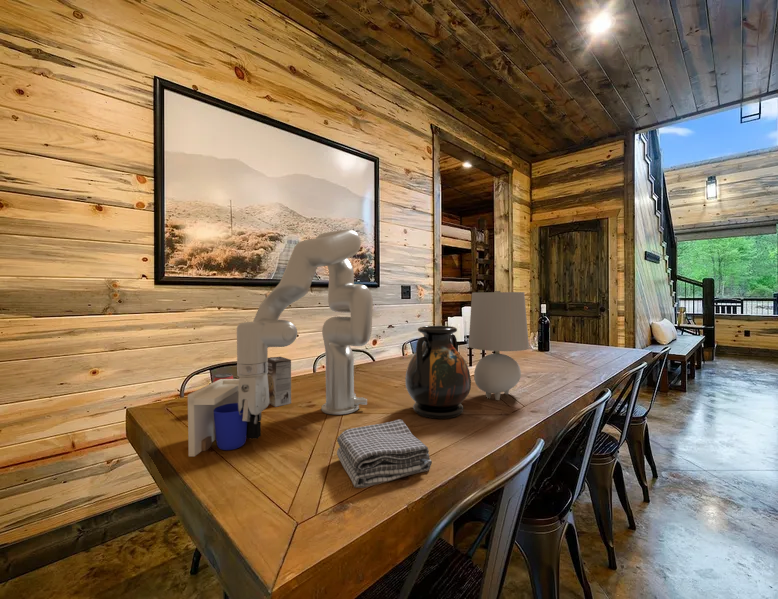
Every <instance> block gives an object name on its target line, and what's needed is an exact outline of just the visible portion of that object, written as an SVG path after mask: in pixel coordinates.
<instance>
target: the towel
mask: <svg viewBox="0 0 778 599" xmlns="http://www.w3.org/2000/svg"><path fill="white" fill-rule="evenodd" d="M336 442H337V444H338V446H339V447H337V450H336V456H337V459H339V460H338V461H340V464H341V465H342V467H343V469H344V471H345V472H346V474H347V475H348V477H349V478H350V481H351V482H352V485H353V487H354V488H355V489H357V488H368V487H372V486H377V485H379V484H383V483H387V482H391V481H395V480H398V479H402V478H405V477H407V476H410V475H411V476H412V475H414V474H419V473H420V474H421V473H423V472H424V473H425V472H428V471H430V470H431V466H432V463H433V461H432V460H431V458H430V453H429V451H430V450H429V447H428V446H427V445H426V444H424V442H422V441H421V440H420V439H419V438H417V436H415V435H414V434H413V433H412V432H411V430H410V429H409V427H408V426H407V425H406V422H404V420H403V419H395V420H393V421H387V422H384V423H377V424H370V425H365V426H364V425H363V426H358V427H353V428H348V429H346V430H343V431H342V432H341V433H340V434H339V435H338V436H337V438H336Z"/></svg>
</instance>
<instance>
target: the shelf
mask: <svg viewBox="0 0 778 599" xmlns="http://www.w3.org/2000/svg"><path fill="white" fill-rule="evenodd" d="M238 386H239V378H234V379H220V380H218V381H216V382H211V383H209V384H207V385H205V386H203V387H201V388H198V389H196V390H194V391H192V392H190V393H188V394H187V426H188V427H187V429H188V430H187V432H188V434H187V435H188V436H187V438H188V439H187V441H188V442H187V443H188V445H187V446H188V457H196V456H197V455H199V454H200V453H201V452H205V451H207V450H209V449H210V448H211V447H212V446H213V442H214V441H216V431H215V421H214V409H215V408H216V407H219V406H221V405H225V404H231V403H238Z"/></svg>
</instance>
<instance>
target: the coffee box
mask: <svg viewBox="0 0 778 599" xmlns="http://www.w3.org/2000/svg"><path fill="white" fill-rule="evenodd" d="M267 376H268V385H269V405H271V406H273V407H275V408H277V407H281V406H285V405H290V404H292V359H290V358H287V357H282V356H272V357H271V356H270V357H268V373H267Z"/></svg>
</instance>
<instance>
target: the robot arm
mask: <svg viewBox="0 0 778 599" xmlns="http://www.w3.org/2000/svg"><path fill="white" fill-rule="evenodd" d="M361 245H362V242H361V237H360V236H359V234H358V232H356V231H355V230H354V229H349V228H346V229H341V230H335V231H328V232H324V233H320V234H319V235H317V236H316V238H310V239H305V240H301V241H299V242H298V243H296V244H295V245H294V248H293V250H292V252H291V255H290V258H289V260H288V262H287V265H286V268H284V269H285V270H284V272H283V274H282V277H281V279H280V281H279V282H278V284H277V285H276V286H275V287H274V288H273V289H272V290H271V291H270V293H269V294H268V295H267V296H266V297H265V298H264V300H262V302H261V304H260V305H259V307H258V309H257V310H256V313H255V316H254V318H253V321H246V322H245V321H244V322H241V323H239V324H238V325H237V327H236V363H237V364H236V368H237V369H236V370H237V372H236V373H237V377H239V378H238V379H239V386H238V411H239V415H241V414H242V413H241V414H240V411H241V410H242V409H243V420H242V421H243V422H247V435H246V440H259V438H260V437H261V436H262V428H261V427H262V424H261V421H262V412H263V411H264V410H266V408H268V406H269V405H270V404H269V385H268V376H267V373H268V358H269V356H268V349H269V348H283V347H288V346H291V345H292V344H293V343H294V342H296V339H297V337H298V329H297V327H296V325H295V324H294V323H293V322H291V321H289V320H286V319H279V318H280V317H281V316H280V315H282V313H283V311H285V310H286V309H287V308H288V307H289V306H290V305H292V304H293V303H295V302H297V301H298V300H301V299H302V298H303V297H305V296H306V295H307V294H308V293H309V290H310V289H311V285H312V282H313V279H314V276H315V274H316V273H317V272H316V271H317V269H318V267H319V268H320V267H321V268H323V267H327V270H328V290H327V292H328V293H327V295H328V296H327V302H328V303H327V304H328V307H329V309H330V310H331V311H332V312H337V313H349V314H350V316H332V317H328V319H326V320H325V321H324V323H323V325H322V328H321V332H322V334H321V335H322V339H323V343H324V351H325V352H324V353H325V354H324V355H325V403H324V404H322V405H321V412H323V413H324V414H326V415H333V416H334V415H335V416H337V415H341V416H342V415H348V414H352V413H355V412H357V411H358V410H359V408H360V407H359V406H360V405H366V406H367V405H368V398H365V397H358V396H356V395H357V394H356V393H355V377H354V376H355V366H354V365H355V364H354V363H355V360H354V353H353V350H352V348H351V347H363V346H366V345H367V344H368V343H369V341H370V340H371V336H372V329H373V303H374V302H373V294H372V293H371V290H370V289H369V288H368V286H367V285H364V284H362V283H361V284H360V283H357V284H356V283H355V281H354V278H355V272H354V267H353V265H352V263H351V261H350V260H349V259H350V258H351V257H354V256H355V255H356V254H357V253H358V252H359V251H360V250H361V249H360V248H361Z"/></svg>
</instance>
